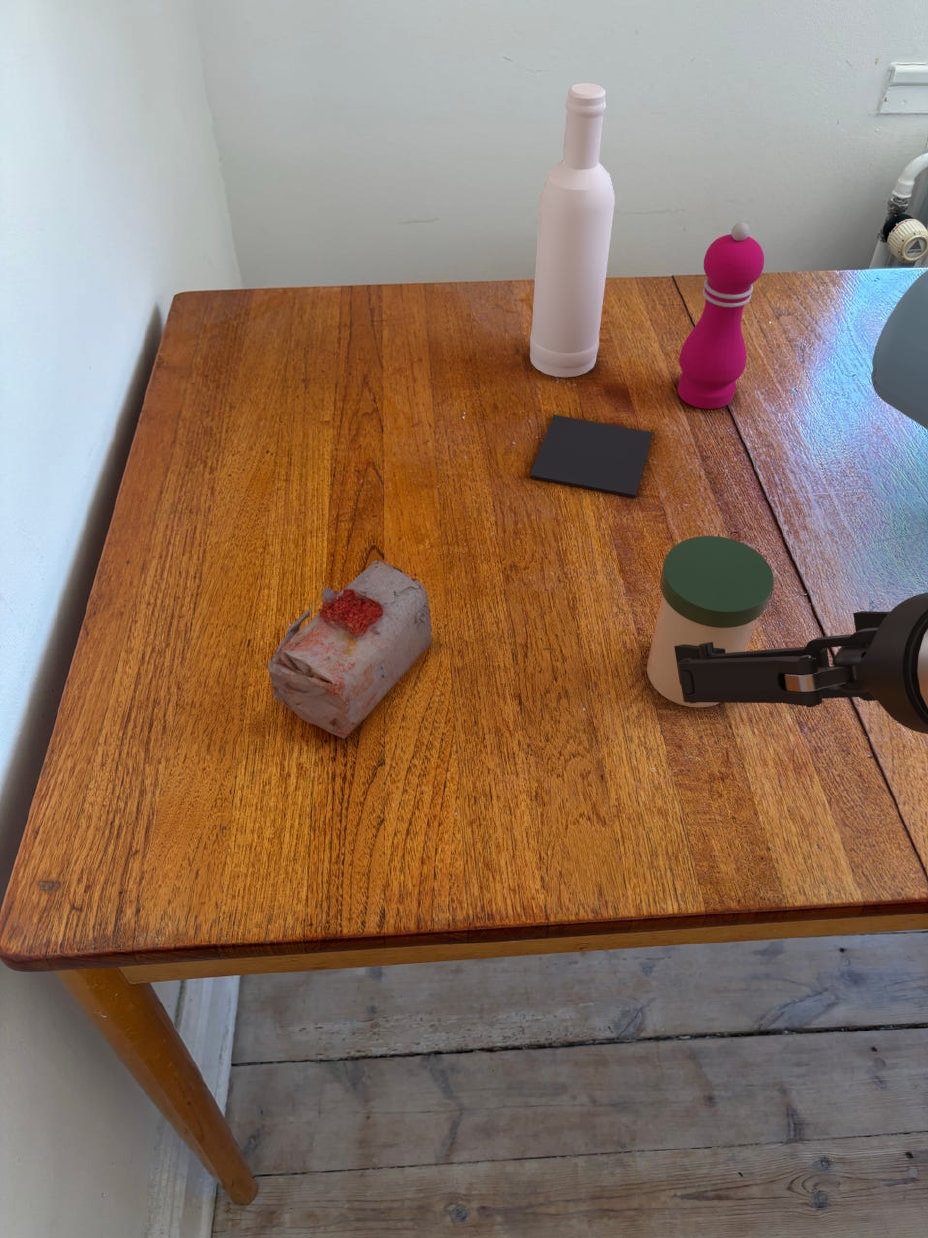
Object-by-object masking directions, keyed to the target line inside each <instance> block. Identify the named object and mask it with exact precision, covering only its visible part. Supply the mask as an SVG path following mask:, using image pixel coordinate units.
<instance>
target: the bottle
mask: <svg viewBox="0 0 928 1238" xmlns="http://www.w3.org/2000/svg"><path fill="white" fill-rule="evenodd" d="M606 94H607V93H606V90H605V88H603V87H602V86H601V85H598V84H596V83H591V82H590V83H588V82H581V83H576V84H573V85H572V86H570V87H569V89H568V90H567V98H566V101H565V110H566V115H565V128H564V140H563V141H564V143H563V155H562V160H561V161H559V162H558V164H556V165H555V166H554V167H552V169H551V170H550V171H549V172H548V174H547V176H546V178H545V180H544V182H543V184H542V187H541V191H540V193H539V205H538V206H539V208H538V221H537V222H538V223H537V237H536V253H535V255H536V256H535V269H534V270H535V271H534V272H535V273H534V286H533V303H532V316H531V317H532V318H531V332H530V336H529V348H530V350H529V359H530V363H531V364H532V365H533V367H534V368H535V369H536V370H538V371H540V372H541V373H542V374H544V375H547V376H552V377H554V378H555V377H556V378H566V379H567V378H575V377H579V376H582V375H585V374H587V373H588V372H589V371H591V370H592V369H593V368H595V364H596V362H597V355H598V352H599V347H600V346H599V345H600V329H601V323H602V322H601V320H602V313H603V304H604V295H605V288H606V278H607V271H608V261H609V254H610V246H611V245H610V244H611V236H612V230H613V229H612V228H613V219H614V210H615V204H616V203H615V202H616V197H615V191H614V187H613V182H612V178H611V174H610V173H609V172H608V171H607V170H606V168H605V167H604V166H603V164H602V163H600V161H599V160H600V154H601V153H600V152H601V142H602V133H603V123H604V122H603V121H604V113H605V112H606V109H607V103H606Z"/></svg>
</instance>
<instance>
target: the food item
mask: <svg viewBox="0 0 928 1238" xmlns="http://www.w3.org/2000/svg"><path fill="white" fill-rule="evenodd" d="M321 595H322V597H323V598H322V599H321V601H320V602H321V603H322V608H318V609H317V611H318V613H316V614H315V615H314V616H313V617H312V619H311V620H310V621H309V622H308V623H307V624H305V625H304V626H303V627H302V628H301V626H302V623H303V622H304V621H305V620H306V619H308V618H309V617H310V614H311V611H312V609H313V608H314V606H315V604H314V605H312V606H310V607H309V608H308V610H306V611H305V612H304V613H303V614H302V615H301V616H300V617H299V618H298V619H297V620H296V621H294V623H293V624H292V625H291V626H290V627H289V628H288V630H287V632H286V634H285V636H284V638H283V640H282V641H281V643H280V644H279V645H278V647H277V648H276V651H275V653H274V656H273V658H269V662H268V665H267V670H268V673H269V676H270V681H271V686H273V692H272V693H273V698H274V699H275V701H278V702H280V703H282V704H283V705H284V706H285V707H286V708H287V709H288V710H291V711H292V712H293V713H295V715H297V717H298V718H300V719H301V720H303V721H304V722H306V723H308V724H311V725H315V726H316V727H318V728H320V729H322V730H324V731H325V732H327V733H329V734H332V735H334V736H336V737H339V738H341V739H343V740H344V739H346V738H348V736H349V735H350V734H351V733H352V732H353V731H354V730H355V729H356V728H357V727H358V726H359V725H360V724H361V723H362V722H363V721H364V720H365V719H366V718H367V716H369V715H370V713H371V712H372V711H373V710H374V709H375V708H376V706H377V705H378V704H379V703H380V702H381V700H382V699H383V698H384V697H385V696H386V695H387V694H388V693H389V692H390V690H391V689H392V688H393V687H395V686H396V684H397V683H398V682H400V680H401V679H402V678H403V677H404V675H406V673H407V672H408V671H409V670H410V669H411V668H412V666H413V665H414V664H415V663H416V661H418V660H419V658H420V657H421V655H423V654H424V653H425V651H426V650H427V649H428V648H429V647H430V646H431V645H432V643H433V642H434V638H432V632H433V628H432V621H431V619H432V618H431V609H430V605H429V595H428V593H427V590H426V587H425V585H424V584H423V583H422V582H421V581H420V580H419V578H413V577H410V576H409V575H408V574H407V573H405V572H404V571H403V570H401V569H400V568H398V567H396V566H393V565H391V564H389V563H387V562H385V561H381V560H373V561H372V562H371V563H370V565H369V566H368V567H367V568H366V569H364V570H363V571H362V572H361V573H359V575H357V576H356V577H355V578H354V579H353V580H352V581H350V583H348V584H347V585H346V586H345V587H344V588H343V589H342V590H341V591H340V592H339V591H338V590H333V589H332V588H331V587H328V586H325V587H324V589H323V590H322V593H321ZM300 628H301V629H300Z"/></svg>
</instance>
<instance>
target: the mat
mask: <svg viewBox="0 0 928 1238" xmlns="http://www.w3.org/2000/svg"><path fill="white" fill-rule="evenodd" d="M653 435H654V432H653V431H648V430H642V429H636V428H632V427H631V428H630V427H625V426H620V425H614V424H608V423H603V422H597V421H592V420H586V419H580V418H574V417H568V416H563V415H559V414H553V415H552V418H551V420H550V423H549V426H548V428H547V430H546V433H545V437H544V438H543V441H542V444H541V446H540V449H539V451H538V454H537V456H536V459H535V462H534V464H533V466H532V469H531V471H530V474H529V478H530V479H534V480H539V481H545V482H548V483H549V482H550V483H555V484H560V485H564V486H571V487H576V488H581V489H586V490H592V491H597V492H601V493H608V494H611V495H617V496H623V497H628V498H633V499H636V497H637V494H638V491H639V487H640V483H641V480H642V476H643V472H644V469H645V464H646V462H647V461H646V460H647V457H648V453H649V450H650V446H651V442H652V439H653Z"/></svg>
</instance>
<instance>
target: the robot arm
mask: <svg viewBox="0 0 928 1238" xmlns="http://www.w3.org/2000/svg"><path fill="white" fill-rule="evenodd" d="M871 360H872V361H871V364H872V370H871V373H870V374H871V376H870V377H871V378H870V379H871V384H872V387H873V390H874V391H875V393H876V395H877V396H878V397H879V398H880V399H881V400H882V402H885V403H886V404H887V405H889V406H891V407H892V408H893V409H895V410H897V411H899V412H900V413H901V414H903V415H905V416H906V417H908V419H910V420H912V421H914V422H915V423H916V424H918V425H920V426H921V427H923V428H924V429H926V430H927V431H928V269H927V270H926V271H924V272H923V273H921V274H920V276H918V278H916V279H915V280H914V282H913V283H911V284H910V286H909V287H908V289H907V290H906V291H905V292H904V293H903V295H902V296H901V297H900V299H899V300H898V302H897V303H896V304H895V307H894V308H893V310H892V311H891V313H890V315H889V316H888V317H887V320H886V322H885V324H884V325H883V327H882V329H881V332H880V334H879V337H878V339H877V341H876V345H875V348H874V352H873V356H872V359H871ZM852 614H853V615H852V617H853V622H854V629H855V632H853V633H850V634H838V635H836V634H835V635H826V636H819V637H816V638H813V639H812V640H810V641H807V643H806V646H796V647H782V648H771V649H759V650H757V649H756V650H747V651H744V652H731V653H726V652H725V649H723V648H714V646H713V642H708V643H703V644H699V646H695V645H686V644H683V645H678V646H674V649H675V655H676V661H677V668H678V674H679V681H680V685H681V688H682V694H683V700H684V702H686V703H687V702H690V703H698V702H712V703H719V704H721V703H723V704H724V703H725V704H726V703H727V704H729V703H730V704H732V703H733V704H786V705H793V706H802V707H806V708H814V707H817V706H820V705H821V704H822V703H823V700H824V699H825V700H826V699H845V698H847V699H848V698H858V699H860V700H863V701H865V702H878V704H879V705H880V706H881V708H882V709H883V710H884V711H885V712H886V713H887V714H888V716H890V718H892V719H893V720H894V721H895V722H897V723H898V724H899V725H901V726H903V727H904V728H906V729H908V730H911V731H913V732H916V733H919V734H924V735H928V592H927V591H926V592H922V593H919V594H916V595H913V596H910V597H908V598H907V599H905V600H903V601H901V602H900V603H898V604H897V605H896V606H895V607H894V608H893V609H891V610H890V611H877V610H876V611H875V610H873V611H872V610H871V611H867V610H861V611H857V612H853V613H852ZM828 648H839V649H837V650H838V651H837V652H836V653H835V655H834V656H833V658H832V661H831V662H832V663H831V664H832V665H830V659H829V652H828Z"/></svg>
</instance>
